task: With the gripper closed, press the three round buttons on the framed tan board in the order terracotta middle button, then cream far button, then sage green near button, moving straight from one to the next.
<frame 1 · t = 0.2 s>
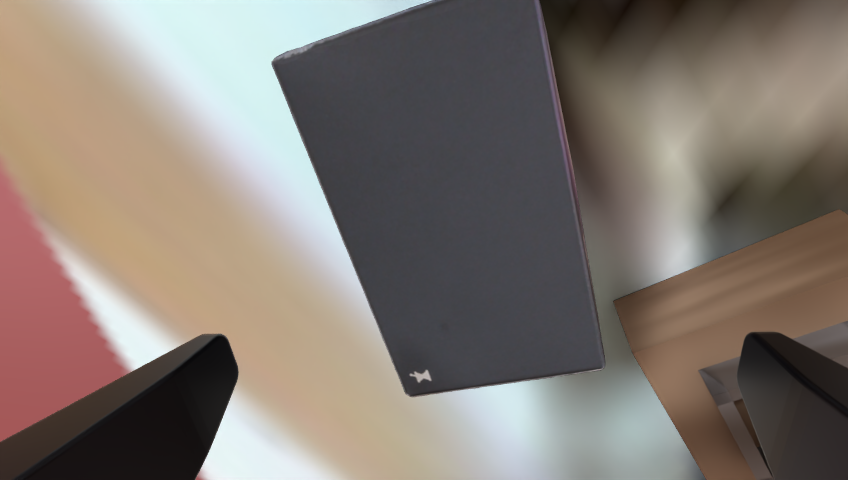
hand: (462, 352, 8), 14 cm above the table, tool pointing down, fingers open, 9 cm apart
small box: (475, 132, 21), on the table
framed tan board: (801, 440, 26), on the table
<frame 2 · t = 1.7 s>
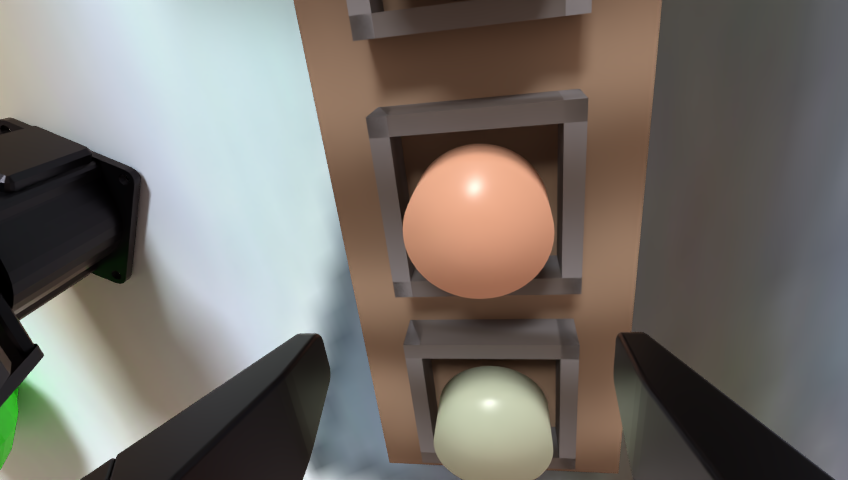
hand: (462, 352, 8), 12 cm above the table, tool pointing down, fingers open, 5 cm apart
button terracotta: (478, 221, 13), point 6 cm above the table, slide at 0.0 cm
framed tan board: (484, 157, 19), on the table
button sage: (492, 427, 17), point 6 cm above the table, slide at 0.0 cm
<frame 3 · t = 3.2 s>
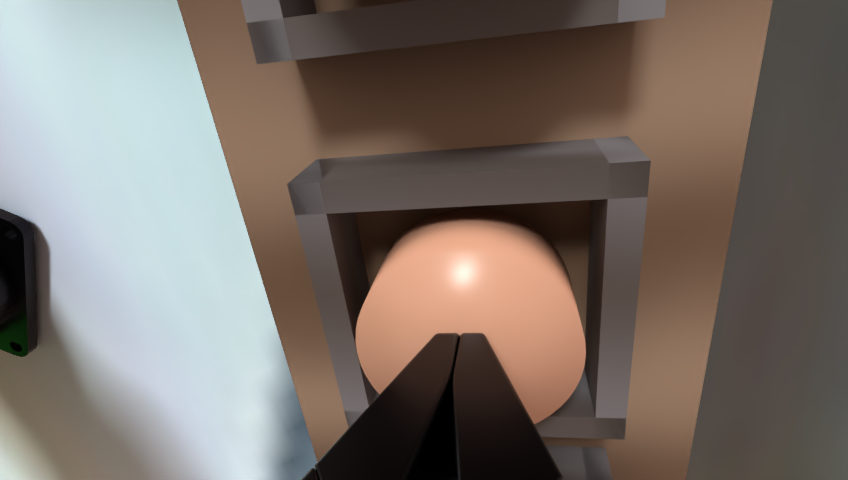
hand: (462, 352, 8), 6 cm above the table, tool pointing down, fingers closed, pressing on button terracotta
button terracotta: (469, 323, 9), point 6 cm above the table, slide at 0.8 cm, touching gripper
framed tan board: (480, 211, 14), on the table
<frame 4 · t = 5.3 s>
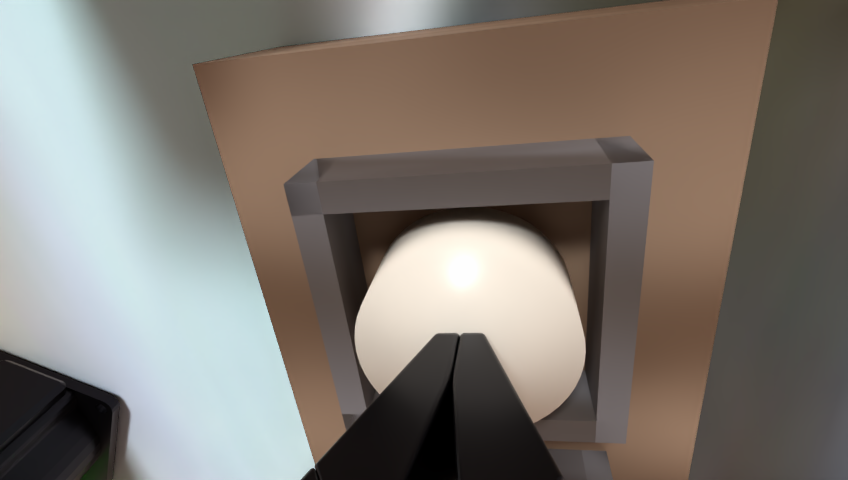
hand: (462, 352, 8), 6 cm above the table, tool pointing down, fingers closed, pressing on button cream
button cream: (469, 321, 9), point 5 cm above the table, slide at 0.9 cm, touching gripper
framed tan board: (493, 413, 17), on the table
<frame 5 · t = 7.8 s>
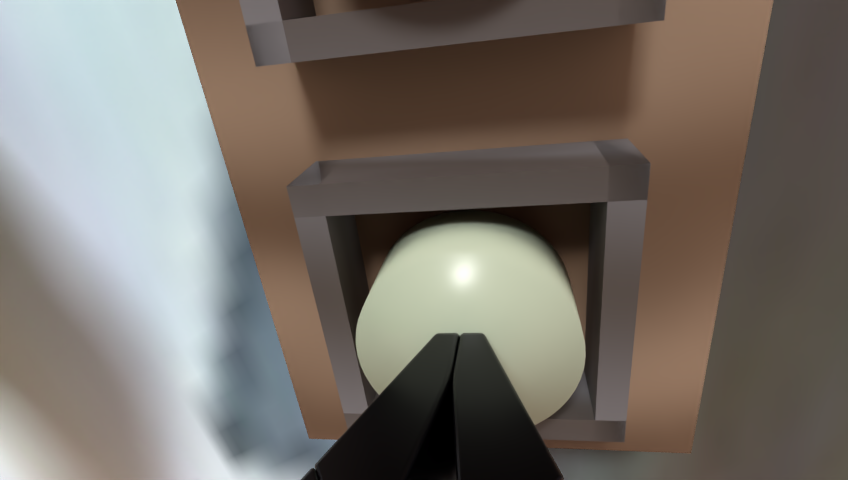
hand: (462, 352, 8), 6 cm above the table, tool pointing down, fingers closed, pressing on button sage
button sage: (469, 324, 9), point 5 cm above the table, slide at 0.8 cm, touching gripper
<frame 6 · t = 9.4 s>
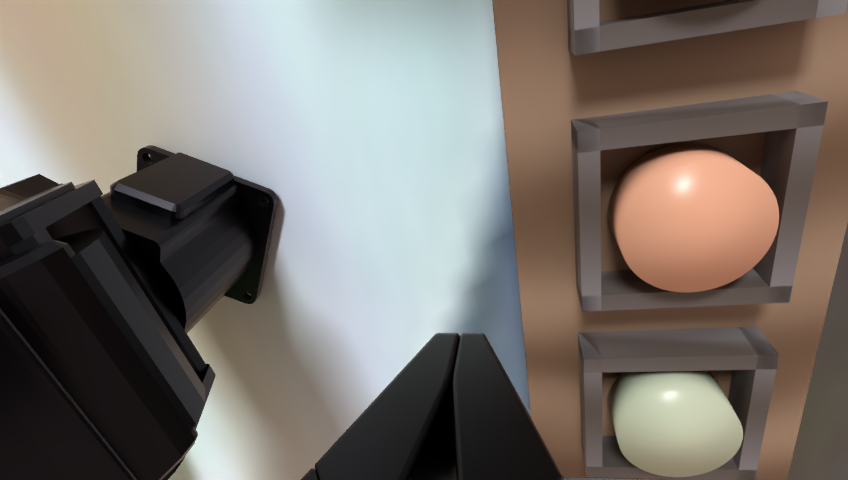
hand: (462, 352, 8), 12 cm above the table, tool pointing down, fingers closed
button terracotta: (685, 218, 14), point 5 cm above the table, slide at 1.0 cm
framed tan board: (640, 163, 19), on the table
button sage: (670, 417, 17), point 5 cm above the table, slide at 1.0 cm
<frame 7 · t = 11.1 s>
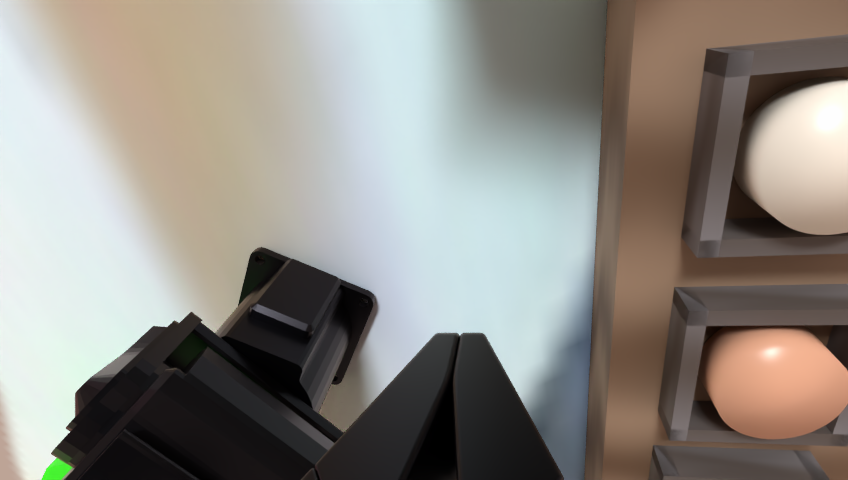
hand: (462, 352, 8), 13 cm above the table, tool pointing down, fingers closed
button terracotta: (768, 377, 17), point 5 cm above the table, slide at 1.0 cm
button cream: (825, 156, 13), point 5 cm above the table, slide at 1.0 cm
plastic bottle: (165, 452, 32), on the table
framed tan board: (709, 295, 21), on the table
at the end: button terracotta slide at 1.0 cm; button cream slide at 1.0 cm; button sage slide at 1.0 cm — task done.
